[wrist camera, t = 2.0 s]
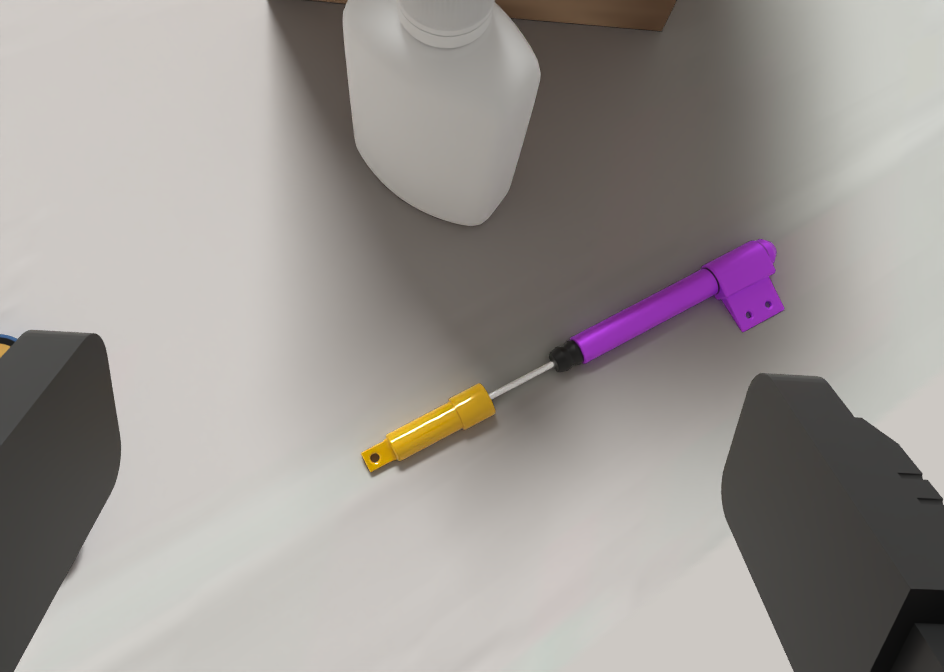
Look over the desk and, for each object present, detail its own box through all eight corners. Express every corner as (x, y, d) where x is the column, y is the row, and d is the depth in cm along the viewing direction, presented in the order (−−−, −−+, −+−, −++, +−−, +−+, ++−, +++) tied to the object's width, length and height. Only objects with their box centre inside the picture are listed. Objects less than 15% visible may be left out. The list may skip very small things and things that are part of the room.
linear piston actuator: (755, 236, 29) (356, 445, 26) (773, 230, 28) (357, 447, 25) (787, 302, 29) (393, 517, 26) (806, 299, 28) (396, 524, 25)
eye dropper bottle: (452, 82, 30) (485, -223, 18) (522, 211, 28) (604, -27, 17) (343, 125, 29) (303, -166, 17) (410, 259, 28) (416, 44, 16)
